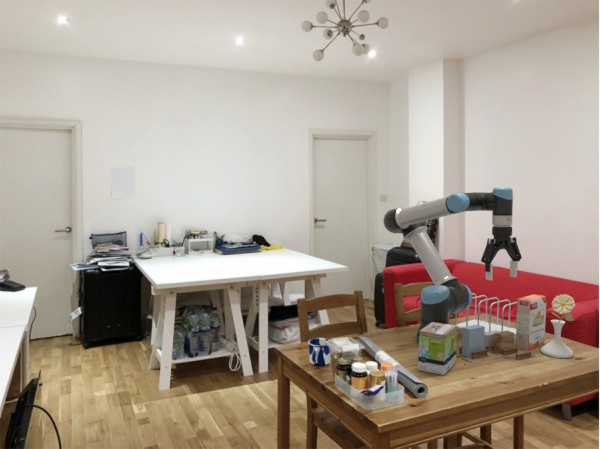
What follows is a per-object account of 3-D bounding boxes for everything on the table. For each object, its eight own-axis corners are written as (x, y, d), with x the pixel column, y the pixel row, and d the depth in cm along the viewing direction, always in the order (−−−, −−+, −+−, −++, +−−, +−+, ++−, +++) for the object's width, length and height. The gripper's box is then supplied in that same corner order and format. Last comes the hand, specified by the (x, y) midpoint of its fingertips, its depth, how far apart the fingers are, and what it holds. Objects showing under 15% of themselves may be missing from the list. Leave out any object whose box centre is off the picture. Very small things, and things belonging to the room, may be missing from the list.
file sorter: (452, 329, 233) (453, 296, 232) (474, 323, 243) (475, 291, 242) (502, 342, 213) (503, 306, 212) (524, 334, 223) (525, 300, 222)
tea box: (445, 376, 175) (445, 334, 174) (417, 370, 181) (417, 330, 180) (456, 363, 188) (457, 324, 187) (430, 358, 194) (430, 320, 192)
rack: (473, 349, 204) (473, 342, 204) (494, 344, 209) (494, 337, 209) (514, 364, 186) (514, 356, 186) (536, 359, 191) (536, 351, 191)
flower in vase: (533, 353, 198) (535, 291, 196) (555, 350, 202) (557, 288, 200) (561, 364, 186) (563, 297, 184) (584, 360, 190) (586, 295, 188)
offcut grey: (480, 347, 202) (480, 333, 202) (496, 344, 206) (496, 330, 206) (487, 350, 199) (487, 335, 199) (503, 346, 203) (503, 332, 203)
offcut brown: (493, 351, 198) (494, 332, 197) (506, 348, 201) (506, 330, 200) (501, 354, 194) (501, 335, 194) (513, 351, 198) (514, 332, 197)
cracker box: (529, 352, 199) (531, 300, 197) (515, 349, 203) (516, 298, 202) (545, 345, 208) (547, 295, 206) (531, 342, 212) (532, 293, 211)
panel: (462, 355, 194) (462, 327, 193) (477, 351, 197) (477, 324, 197) (468, 357, 191) (469, 329, 190) (484, 354, 194) (484, 326, 193)
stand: (455, 356, 195) (455, 347, 195) (474, 352, 200) (474, 343, 200) (471, 362, 188) (471, 353, 188) (490, 358, 193) (490, 349, 193)
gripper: (486, 227, 192) (485, 282, 194) (531, 225, 203) (530, 277, 205) (472, 226, 199) (471, 279, 201) (516, 224, 210) (515, 274, 212)
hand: (501, 278), depth 203 cm, fingers open, 13 cm apart
